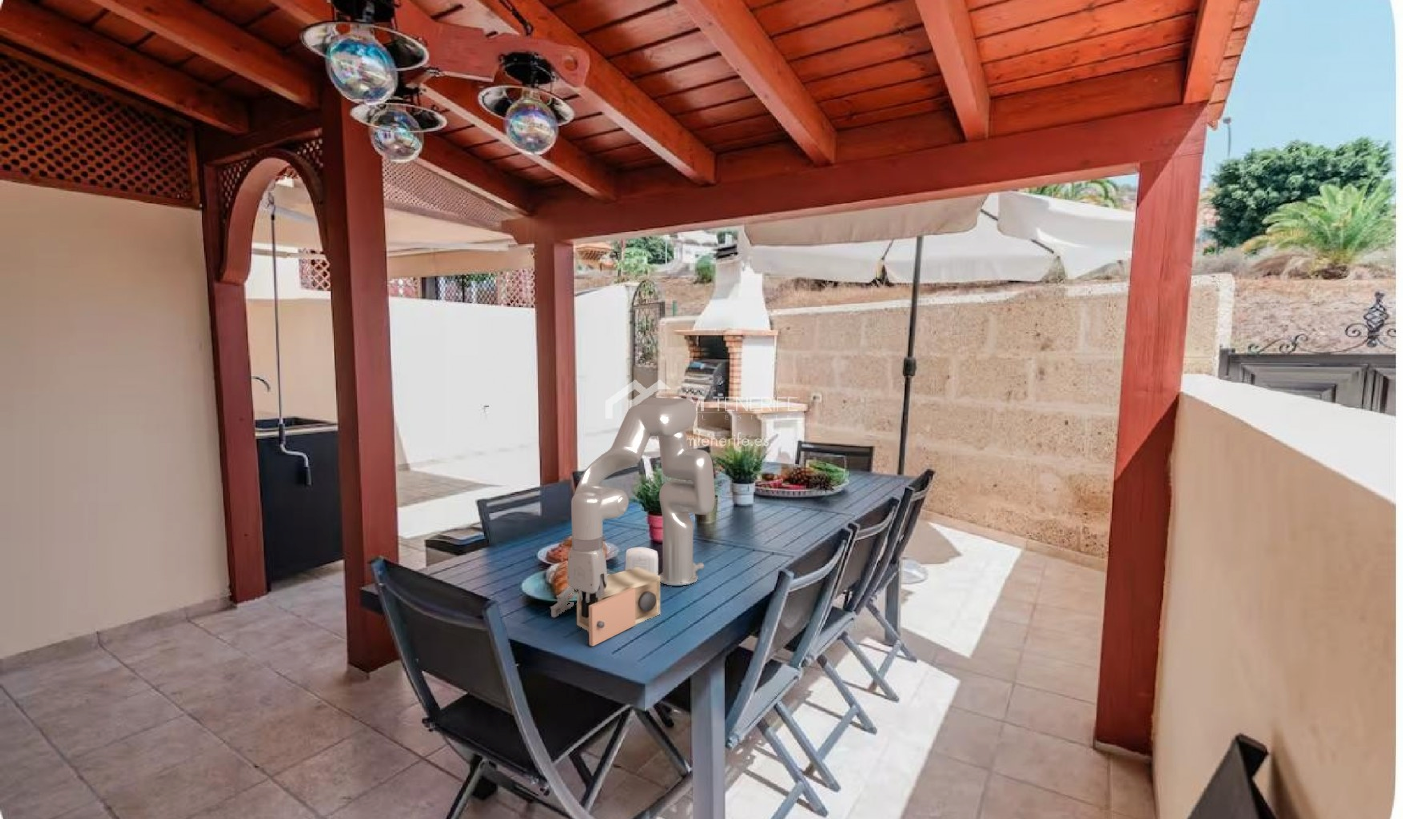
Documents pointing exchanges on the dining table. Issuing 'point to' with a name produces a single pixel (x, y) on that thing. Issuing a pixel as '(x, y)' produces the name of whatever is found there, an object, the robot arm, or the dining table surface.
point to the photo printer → (642, 559)
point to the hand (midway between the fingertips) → (588, 615)
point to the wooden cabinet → (644, 593)
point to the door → (611, 616)
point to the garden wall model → (562, 602)
